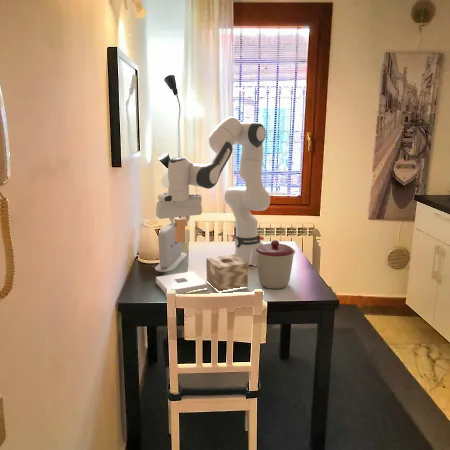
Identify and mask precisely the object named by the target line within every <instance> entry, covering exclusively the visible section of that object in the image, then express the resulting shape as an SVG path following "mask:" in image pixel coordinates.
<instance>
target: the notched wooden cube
mask: <svg viewBox="0 0 450 450" xmlns="http://www.w3.org/2000/svg"><path fill="white" fill-rule="evenodd" d="M205 263H206V282H207V281H208V282H209V283H210V284H211V285H212V286H213V287H214V288H216V289H217V290H218V291H223V290H228V289H233V288H240V287H248V288H249V265H248V263H247V262H245V261H244V260H242V259H241V258H239V257H237V256H236V255H235V253H234V254H227V255H220V256H213V257H208V258H207V257H206V262H205Z"/></svg>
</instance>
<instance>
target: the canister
mask: <svg viewBox="0 0 450 450" xmlns="http://www.w3.org/2000/svg"><path fill="white" fill-rule="evenodd" d="M263 244H264V245H261V246H259V247H257V248H256V249H255V253H256V257H257V266H256V267H257V275H258V281H259V283H260V285H261V286H263V287H264V288H266V289H275V290H277V289H278V290H280V289H283V288H285V287H287V286H288V284H289V283H290V279H291V275H292V269H293V262H294V255H295V254H296V250H295V249H294V248H293V247H292V246H290V245H287V244H282V243H280V242H279V241H278V240H277V239H273V240H272V241H271V242H270V243H263Z"/></svg>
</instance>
